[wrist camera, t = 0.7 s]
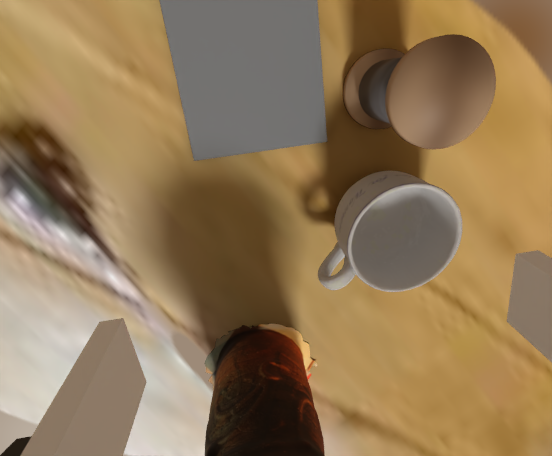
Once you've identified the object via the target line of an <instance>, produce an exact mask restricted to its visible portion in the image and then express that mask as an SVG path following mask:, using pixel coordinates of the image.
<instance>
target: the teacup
mask: <svg viewBox="0 0 552 456" xmlns="http://www.w3.org/2000/svg"><path fill="white" fill-rule="evenodd" d="M335 233H336V237H337V240H338V242H337V243H336V245H335V247H334V249H333V250H332V251H331V252H330V254H329V255H328V256H327V257H326V259H325V260H324V261H323V263H322V264H321V266H320V268H319V270H318V278H319V281H320V282H321V284H322V285H323V286H324V287H326V288H327V289H330V290H338V289H340V288H343V287H344V286H346V285H347V284H348V283H349V282H350V281H351V280H352V279H353V277H354V276H355V274H356V275H357V276H358V277H359V278H360V279H361V280H362V281H363V282H364V283H366V284H368V285H369V286H371V287H373V288H375V289H378V290H381V291H388V292H399V291H405V290H410V289H413V288H416V287H419V286H421V285H423V284H425V283H427V282H428V281H430V280H432V279H433V278H435V277H436V276H437V275H438V274H439V273H440V272H441V271H443V270H444V268H445V267H446V266H447V265H448V264H449V263H450V261H451V260H452V258H453V257H454V255H455V253H456V251H457V249H458V246H459V244H460V241H461V235H462V218H461V213H460V210H459V207H458V206H457V204H456V202H455V201H454V200H453V198H452V197H451V196H450V195H449V194H448V193H447V192H445V191H444V190H443V189H441V188H439V187H437V186H434V185H431V184H429V183H427V182H425V181H423V180H421V179H419V178H417V177H415V176H413V175H410V174H407V173H404V172H400V171H381V172H376V173H373V174H370V175H368V176H366V177H364V178H362V179H360V180H359V181H357V182H356V183H355V184H354V185H352V186H351V187H350V188H349V189H348V190H347V192H346V193H345V194H344V196H343V197H342V199H341V201H340V203H339V205H338V207H337V210H336V215H335ZM344 257H345V258H344ZM343 258H344V265H343V268H342V269H341V270H340V271H339V272H338V273H337V274H335V275H333V276H331V273H332V271H333V270H334V268H335V267H336V266H337V264H338V263H339V262H340V261H341V260H342V259H343Z"/></svg>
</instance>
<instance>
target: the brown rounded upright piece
mask: <svg viewBox="0 0 552 456" xmlns="http://www.w3.org/2000/svg"><path fill="white" fill-rule="evenodd" d="M495 87H496V77H495V70H494V66H493V63H492V60H491V58H490V56H489V54H488V53H487V51H486V50H485V49H484V48H483V47H482V46H481V45H480V44H479V43H478V42H476V41H475V40H473V39H471V38H469V37H466V36H462V35H444V36H439V37H434V38H430V39H428V40H425V41H423V42H421V43H419V44H417V45H416V46H414V47H413V48H411V49H410V50H409V51H408V52H407V53H406V54H404V53H402V52H400V51H398V50H394V49H379V50H375V51H372V52H369V53H367V54H365V55H363V56H362V57H360V58H359V59H358V60H357V61H356V62H355V63H354V64H353V65H352V67H351V68H350V70H349V72H348V74H347V76H346V78H345V82H344V86H343V100H344V104H345V107H346V110H347V111H348V113H349V115H350V116H351V117H352V118H353V119H354V120H355V121H356V122H357V123H359V124H361V125H363V126H366V127H368V128H372V129H384V128H389V127H391V126H392V128H393V129H394V131H395V132H396V133H397V134H398V135H399V136H400V137H401V138H402V139H404V140H405V141H407V142H409V143H411V144H413V145H416V146H419V147H421V148H426V149H442V148H447V147H450V146H453V145H455V144H457V143H459V142H461V141H462V140H464V139H466V138H467V137H468V136H469V135H471V134H472V133H473V132H474V131H475V130H476V129H477V128H478V127H479V125H480V124H481V123H482V122H483V120H484V118H485V117H486V115H487V113H488V111H489V109H490V107H491V104H492V102H493V98H494V94H495Z"/></svg>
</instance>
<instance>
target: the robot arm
mask: <svg viewBox="0 0 552 456" xmlns="http://www.w3.org/2000/svg"><path fill="white" fill-rule="evenodd" d="M507 322H508V323H509V324H510V325H511V326H512V327H514V328H515V329H516V330H517V331H518V332H519V333H520V334H521V335H522V336H523V337H524V338H526V339H527V340H528V341H529V342H530V343H531V344H532V345H533V346H534V347H535V348H536V349H538V350H539V351H540V352H541V353H542V354H543V355H544V356H545V357H546V358H547V359H548V360H550V361H551V362H552V258H550V257H549V256H547V255H545V254H544V253H542V252H540V251H531V252H525V253H519V254H516V257H515V264H514V272H513V279H512V286H511V294H510V301H509V309H508V316H507ZM145 385H146V379H145V377H144V374H143V371H142V368H141V366H140V363H139V360H138V357H137V355H136V352H135V349H134V346H133V344H132V341H131V338H130V335H129V333H128V330H127V327H126V324H125V322H124V319H123V318H121V319H115V320H109V321H103V322H99V324H98V326H97V327H96V329H95V331H94V332H93V334H92V336H91V337H90V339H89V341H88V342H87V344H86V346H85V348H84V349H83V351H82V353H81V354H80V356H79V358H78V359H77V361H76V363H75V364H74V366H73V368H72V369H71V371H70V373H69V375H68V376H67V378H66V380H65V381H64V383H63V385H62V386H61V388H60V390H59V391H58V393H57V395H56V396H55V398H54V400H53V402H52V403H51V405H50V407H49V408H48V410H47V412H46V413H45V415H44V417H43V418H42V420H41V422H40V423H39V425H38V427H37V428H36V430H35V432H34V434H33V435H32V436H31V437H25V438H20V439H16V440H15V441H14V442H13V443H12V444H11V445H10V446H9V447H8V448H7V449H6V450H5V451H4V452H3V453H2V454H1V455H0V456H123V453H124V450H125V447H126V444H127V441H128V438H129V435H130V431H131V428H132V425H133V422H134V419H135V416H136V413H137V410H138V407H139V403H140V400H141V397H142V394H143V391H144V388H145Z"/></svg>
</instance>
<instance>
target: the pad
mask: <svg viewBox="0 0 552 456" xmlns="http://www.w3.org/2000/svg"><path fill="white" fill-rule="evenodd" d="M160 5H161V9H162V14H163V18H164V23H165V28H166V32H167V37H168V42H169V46H170V51H171V56H172V60H173V65H174V70H175V74H176V79H177V83H178V88H179V93H180V97H181V102H182V107H183V111H184V116H185V121H186V125H187V130H188V135H189V139H190V144H191V148H192V153H193V158H194V161H196V160H203V159H210V158H217V157H224V156H231V155H238V154H245V153H252V152H259V151H266V150H273V149H280V148H287V147H294V146H301V145H308V144H315V143H322V142H327V133H326V118H325V104H324V90H323V76H322V61H321V47H320V33H319V19H318V5H317V0H160Z"/></svg>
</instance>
